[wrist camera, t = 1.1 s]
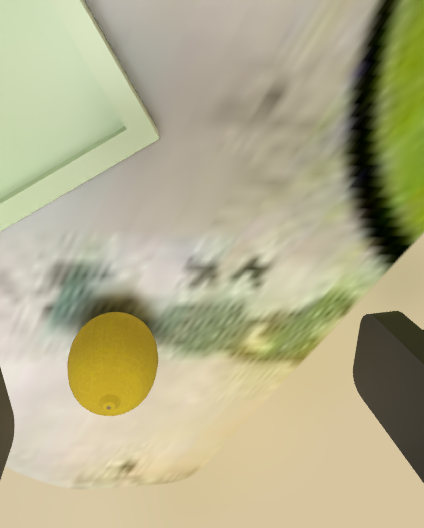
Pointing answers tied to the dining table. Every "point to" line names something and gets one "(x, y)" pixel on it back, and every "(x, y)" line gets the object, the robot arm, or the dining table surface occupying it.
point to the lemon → (112, 363)
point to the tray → (60, 104)
